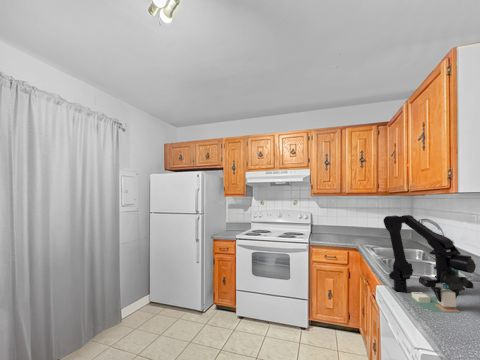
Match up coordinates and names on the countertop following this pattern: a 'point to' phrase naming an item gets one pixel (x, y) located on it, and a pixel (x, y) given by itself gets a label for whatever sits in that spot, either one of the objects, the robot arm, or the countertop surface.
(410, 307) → the countertop surface
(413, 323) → the countertop surface
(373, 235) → the countertop surface
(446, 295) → the stub
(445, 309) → the coaster
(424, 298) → the spiral notebook
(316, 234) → the countertop surface
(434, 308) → the mat
